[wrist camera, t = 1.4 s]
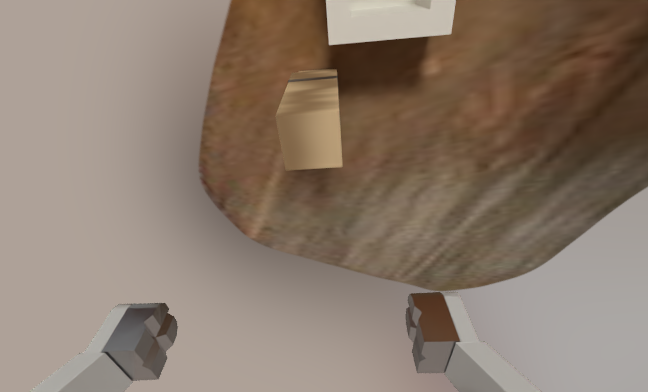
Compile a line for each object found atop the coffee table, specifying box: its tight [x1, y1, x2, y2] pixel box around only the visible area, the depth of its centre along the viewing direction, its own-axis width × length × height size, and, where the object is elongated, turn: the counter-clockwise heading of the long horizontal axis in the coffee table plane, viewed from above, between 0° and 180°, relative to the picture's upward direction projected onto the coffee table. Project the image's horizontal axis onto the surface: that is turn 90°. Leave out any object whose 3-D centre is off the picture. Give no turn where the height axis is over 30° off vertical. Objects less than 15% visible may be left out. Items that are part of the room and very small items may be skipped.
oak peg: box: [276, 68, 342, 170], centre depth 25 cm, size 4×4×12 cm
